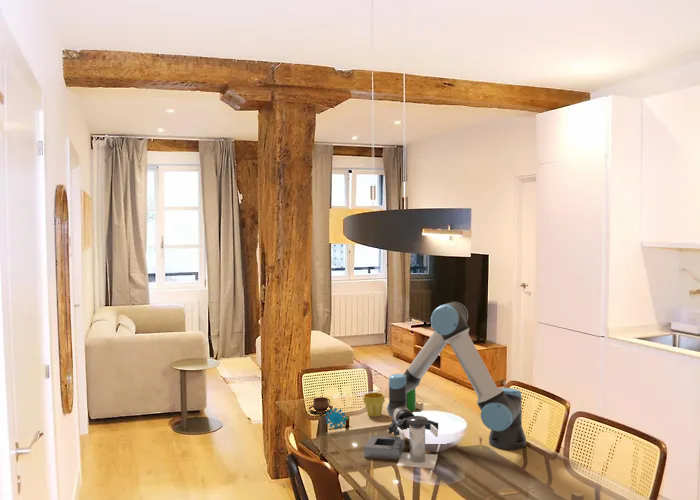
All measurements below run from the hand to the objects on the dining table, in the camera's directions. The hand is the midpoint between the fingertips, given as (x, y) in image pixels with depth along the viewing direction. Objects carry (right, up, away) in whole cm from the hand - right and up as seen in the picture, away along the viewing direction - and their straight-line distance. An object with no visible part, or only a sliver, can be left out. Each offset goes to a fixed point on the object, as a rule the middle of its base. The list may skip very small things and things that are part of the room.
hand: (419, 434), depth 234 cm
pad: (0, -12, +4) cm, 12 cm away
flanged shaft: (0, -11, +4) cm, 12 cm away
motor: (+2, -10, +75) cm, 76 cm away
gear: (-33, -11, +50) cm, 61 cm away
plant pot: (-15, -10, +66) cm, 68 cm away
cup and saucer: (-41, -11, +74) cm, 85 cm away
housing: (-13, -12, +13) cm, 22 cm away
